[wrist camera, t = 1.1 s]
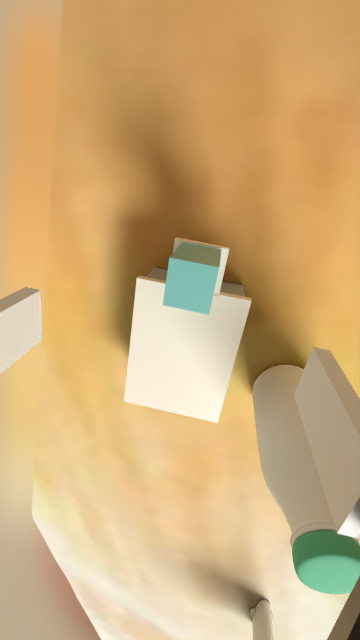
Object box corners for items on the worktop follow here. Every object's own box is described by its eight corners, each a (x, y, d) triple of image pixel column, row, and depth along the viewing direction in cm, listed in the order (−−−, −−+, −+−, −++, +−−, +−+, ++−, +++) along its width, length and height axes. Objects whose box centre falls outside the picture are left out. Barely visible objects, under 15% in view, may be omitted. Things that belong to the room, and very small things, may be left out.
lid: (143, 230, 27) (118, 244, 21) (263, 253, 27) (273, 274, 21) (126, 396, 36) (104, 441, 29) (217, 417, 35) (215, 468, 29)
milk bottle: (239, 394, 39) (248, 576, 21) (277, 351, 36) (325, 521, 18) (289, 423, 40) (339, 622, 22) (331, 383, 36) (430, 578, 18)
